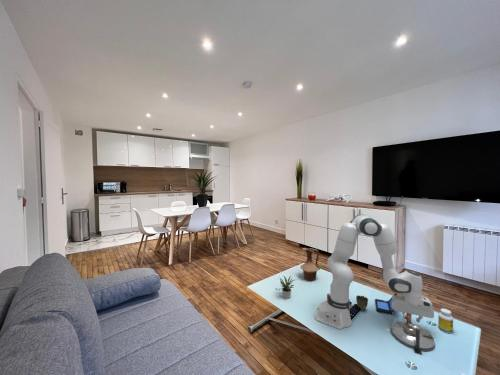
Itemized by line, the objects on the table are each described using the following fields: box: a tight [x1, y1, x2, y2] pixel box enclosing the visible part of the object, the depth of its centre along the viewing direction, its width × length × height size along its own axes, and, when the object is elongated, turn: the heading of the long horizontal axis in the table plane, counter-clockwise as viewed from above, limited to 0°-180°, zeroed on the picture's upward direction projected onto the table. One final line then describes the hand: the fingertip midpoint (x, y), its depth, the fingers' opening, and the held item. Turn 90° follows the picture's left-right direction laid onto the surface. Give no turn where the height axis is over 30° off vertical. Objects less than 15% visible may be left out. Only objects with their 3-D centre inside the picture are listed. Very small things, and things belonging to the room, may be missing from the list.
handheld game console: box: [374, 292, 398, 316], centre depth 147 cm, size 16×13×9 cm
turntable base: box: [390, 330, 436, 353], centre depth 120 cm, size 20×20×1 cm
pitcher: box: [300, 247, 321, 282], centre depth 191 cm, size 18×17×28 cm
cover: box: [403, 321, 416, 337], centre depth 120 cm, size 7×7×5 cm
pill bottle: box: [437, 308, 454, 334], centre depth 125 cm, size 6×6×12 cm
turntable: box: [390, 313, 435, 349], centre depth 120 cm, size 20×20×8 cm
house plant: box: [279, 275, 297, 300], centre depth 162 cm, size 14×14×16 cm
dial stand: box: [412, 323, 423, 355], centre depth 112 cm, size 3×8×12 cm, turn 155°
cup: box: [355, 295, 369, 311], centre depth 146 cm, size 8×7×8 cm
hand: (411, 320), depth 127 cm, fingers open, 5 cm apart
